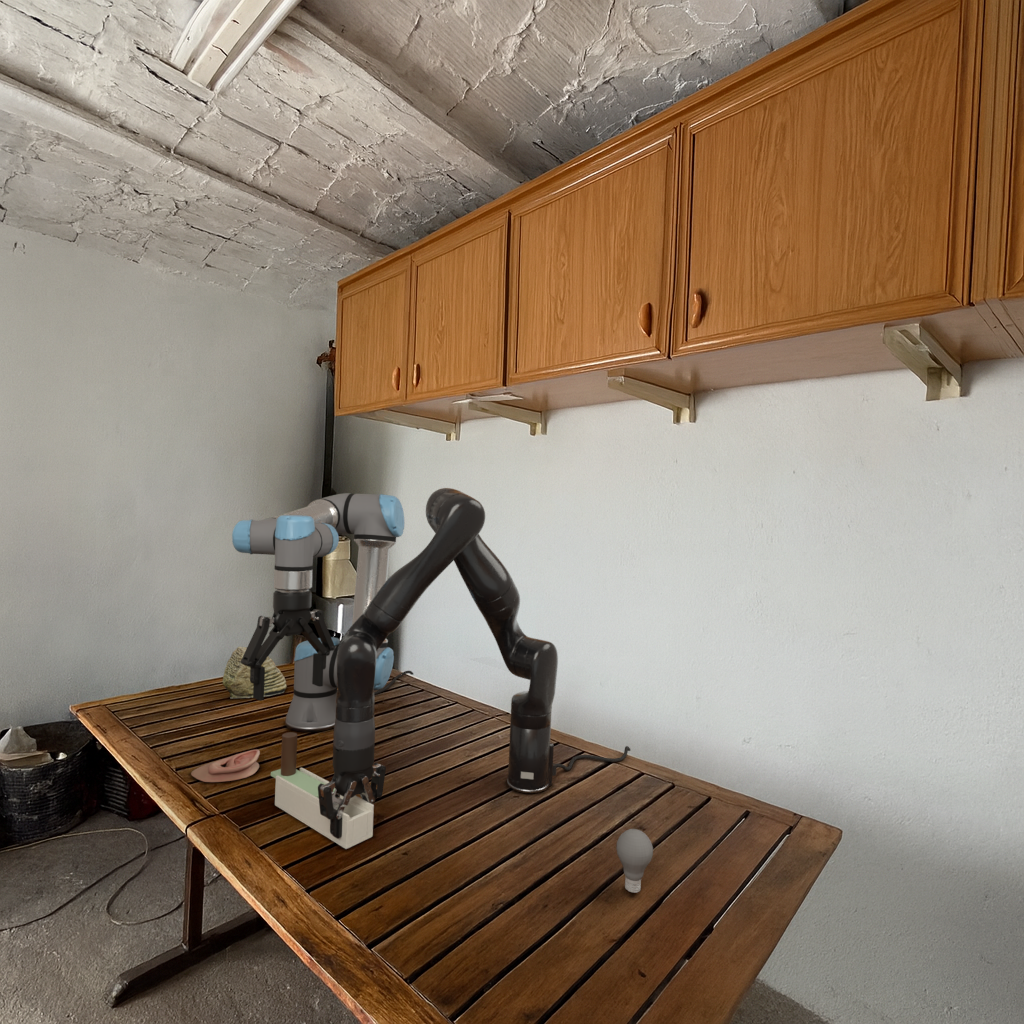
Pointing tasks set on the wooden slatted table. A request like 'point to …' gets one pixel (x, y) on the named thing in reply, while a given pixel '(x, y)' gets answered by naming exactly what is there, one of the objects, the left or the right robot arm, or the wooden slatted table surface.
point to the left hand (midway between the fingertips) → (289, 691)
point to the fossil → (239, 677)
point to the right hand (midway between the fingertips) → (351, 829)
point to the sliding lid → (294, 766)
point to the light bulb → (634, 857)
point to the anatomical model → (229, 768)
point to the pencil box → (308, 811)
